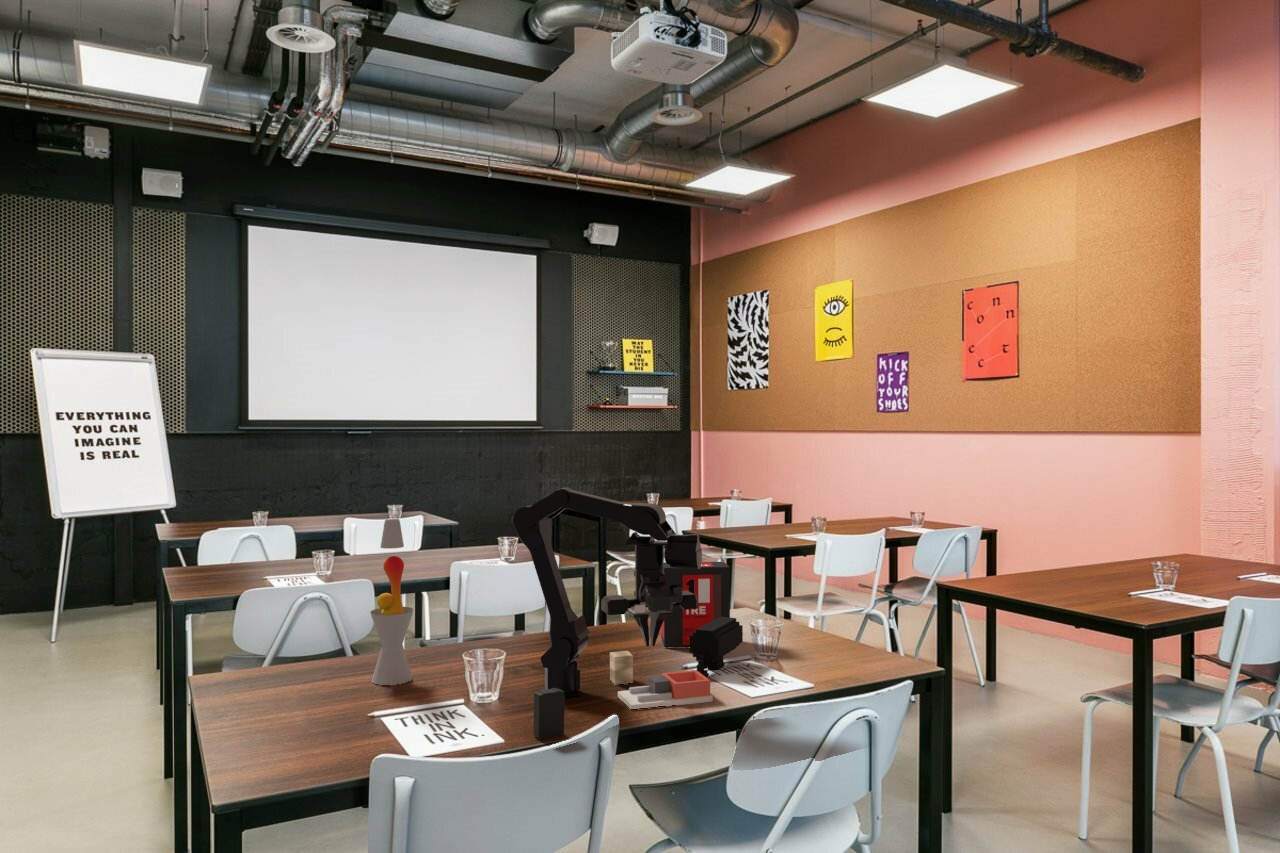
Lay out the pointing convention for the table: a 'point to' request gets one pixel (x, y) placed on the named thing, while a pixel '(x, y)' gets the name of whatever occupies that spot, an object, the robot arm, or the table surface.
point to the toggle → (659, 684)
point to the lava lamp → (392, 615)
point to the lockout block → (621, 667)
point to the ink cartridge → (549, 713)
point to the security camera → (715, 643)
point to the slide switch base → (671, 691)
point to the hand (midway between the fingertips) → (650, 645)
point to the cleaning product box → (711, 596)
